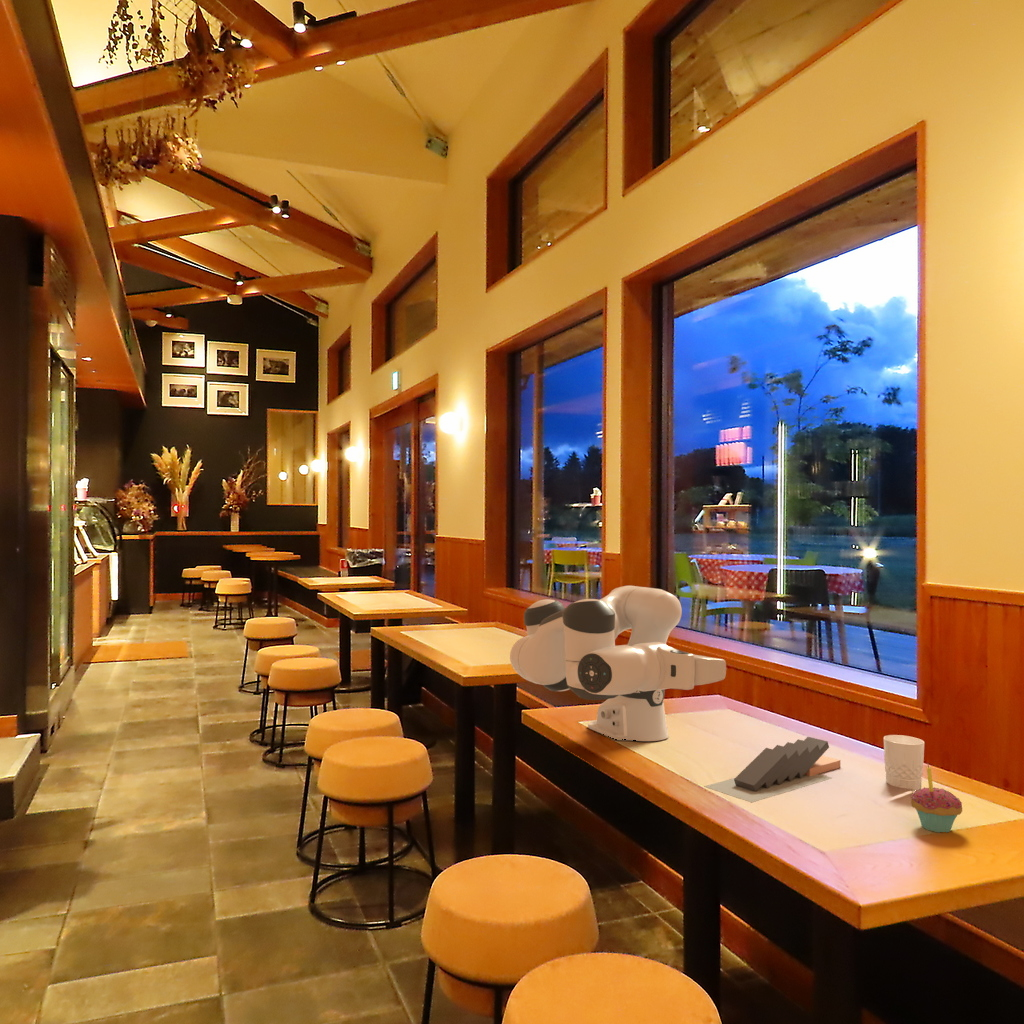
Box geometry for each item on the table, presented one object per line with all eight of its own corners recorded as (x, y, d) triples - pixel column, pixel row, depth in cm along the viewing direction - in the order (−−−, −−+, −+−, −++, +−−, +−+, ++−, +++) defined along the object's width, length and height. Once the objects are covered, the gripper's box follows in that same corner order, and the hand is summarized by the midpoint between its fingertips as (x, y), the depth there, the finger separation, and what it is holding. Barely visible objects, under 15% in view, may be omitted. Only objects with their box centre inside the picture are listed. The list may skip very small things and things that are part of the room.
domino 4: (768, 769, 178) (798, 739, 184) (770, 775, 178) (799, 745, 185) (788, 775, 174) (817, 744, 180) (790, 781, 174) (819, 750, 181)
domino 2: (745, 776, 173) (777, 744, 180) (747, 782, 173) (778, 751, 180) (765, 782, 169) (797, 750, 176) (767, 788, 169) (798, 756, 176)
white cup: (929, 793, 169) (929, 745, 170) (888, 790, 171) (888, 743, 171) (918, 782, 177) (918, 736, 177) (879, 779, 179) (879, 733, 179)
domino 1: (733, 779, 171) (766, 747, 177) (735, 785, 171) (767, 753, 178) (753, 785, 167) (786, 753, 173) (755, 792, 167) (787, 759, 174)
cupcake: (939, 839, 144) (939, 771, 145) (899, 823, 152) (899, 758, 152) (972, 832, 148) (973, 766, 148) (932, 817, 156) (932, 754, 156)
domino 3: (757, 772, 175) (787, 742, 182) (759, 779, 176) (789, 748, 182) (777, 778, 171) (807, 747, 178) (779, 785, 172) (809, 753, 178)
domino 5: (779, 766, 180) (807, 736, 187) (780, 772, 180) (809, 742, 187) (799, 772, 176) (827, 741, 183) (800, 778, 176) (829, 747, 183)
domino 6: (790, 763, 182) (820, 755, 190) (789, 770, 182) (820, 761, 190) (809, 768, 178) (840, 760, 186) (809, 776, 178) (840, 767, 186)
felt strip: (703, 789, 170) (704, 786, 170) (784, 767, 187) (784, 764, 187) (751, 805, 161) (751, 802, 161) (832, 780, 177) (832, 777, 177)
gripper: (615, 674, 161) (663, 668, 170) (695, 691, 145) (744, 684, 153) (615, 642, 162) (663, 638, 170) (695, 656, 145) (744, 650, 153)
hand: (702, 660), depth 161 cm, fingers closed
